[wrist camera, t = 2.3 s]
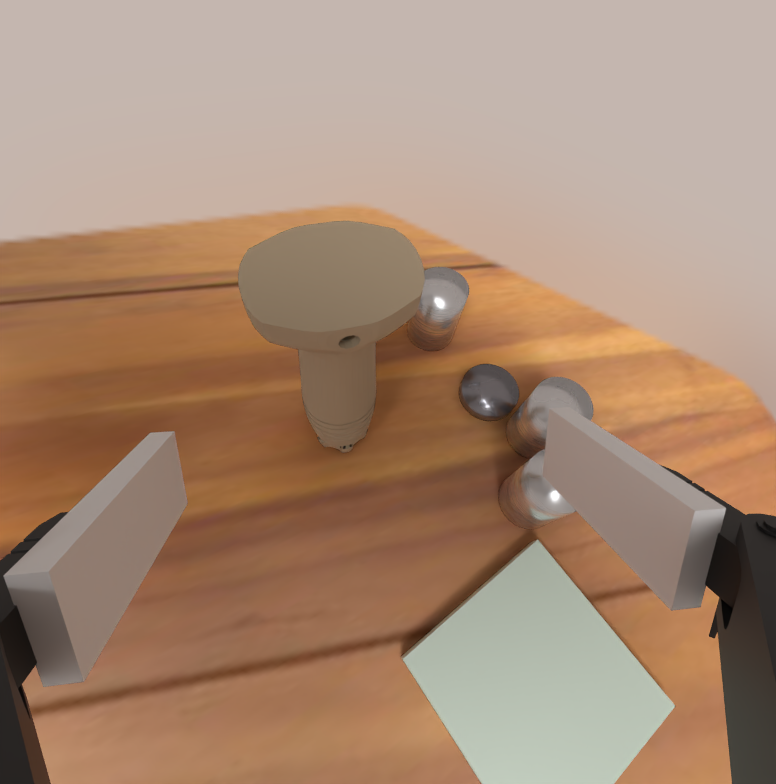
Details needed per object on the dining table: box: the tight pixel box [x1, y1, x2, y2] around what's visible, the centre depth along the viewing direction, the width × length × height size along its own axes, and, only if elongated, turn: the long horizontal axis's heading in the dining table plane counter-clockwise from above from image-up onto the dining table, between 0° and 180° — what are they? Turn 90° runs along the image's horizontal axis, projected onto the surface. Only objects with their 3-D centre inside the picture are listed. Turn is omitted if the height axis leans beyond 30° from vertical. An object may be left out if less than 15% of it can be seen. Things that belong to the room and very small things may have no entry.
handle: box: [238, 221, 425, 453], centre depth 21 cm, size 5×6×15 cm
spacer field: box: [407, 267, 593, 529], centre depth 28 cm, size 21×8×5 cm, turn 36°
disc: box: [459, 364, 519, 421], centre depth 30 cm, size 4×4×1 cm
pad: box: [401, 540, 675, 784], centre depth 22 cm, size 10×10×1 cm
